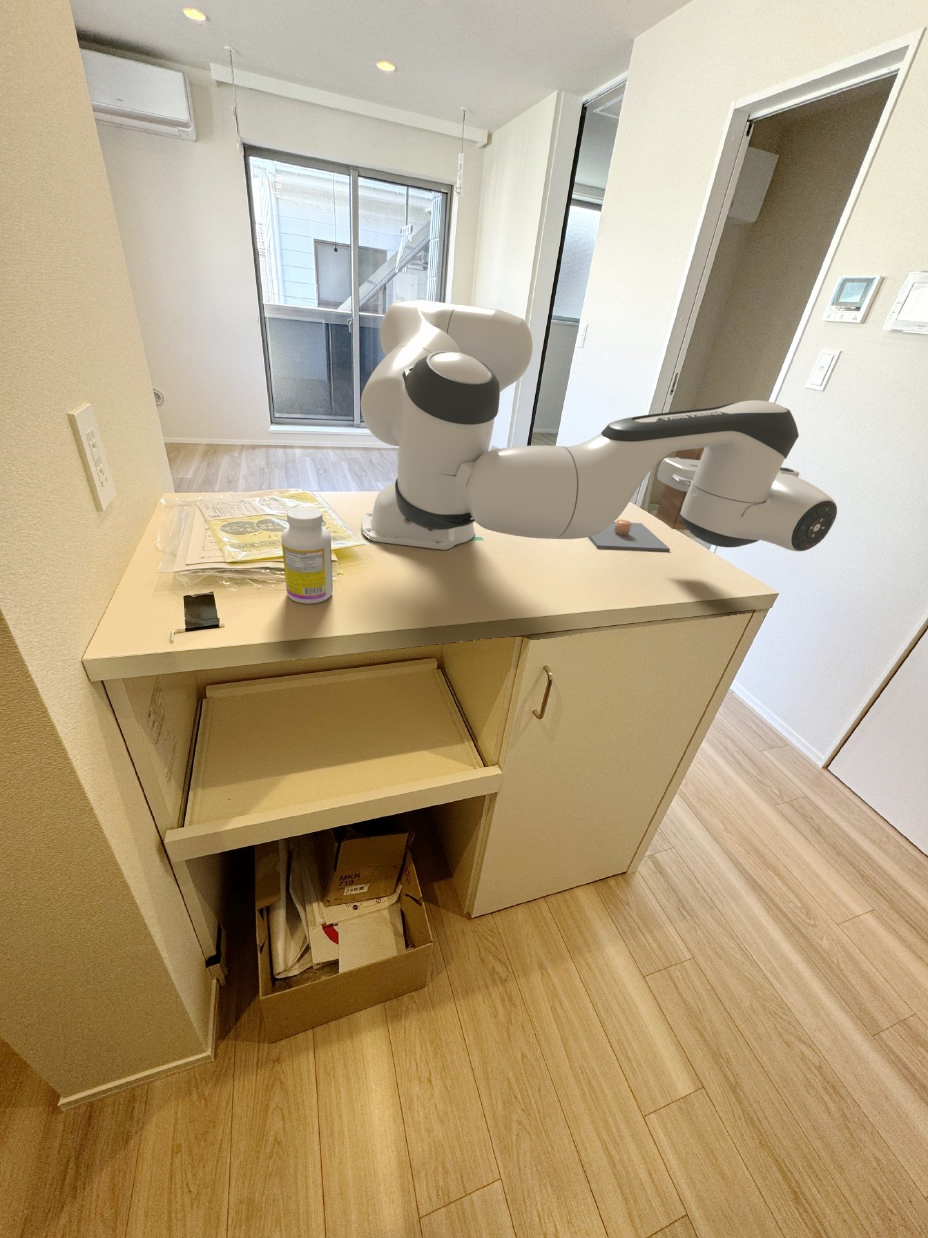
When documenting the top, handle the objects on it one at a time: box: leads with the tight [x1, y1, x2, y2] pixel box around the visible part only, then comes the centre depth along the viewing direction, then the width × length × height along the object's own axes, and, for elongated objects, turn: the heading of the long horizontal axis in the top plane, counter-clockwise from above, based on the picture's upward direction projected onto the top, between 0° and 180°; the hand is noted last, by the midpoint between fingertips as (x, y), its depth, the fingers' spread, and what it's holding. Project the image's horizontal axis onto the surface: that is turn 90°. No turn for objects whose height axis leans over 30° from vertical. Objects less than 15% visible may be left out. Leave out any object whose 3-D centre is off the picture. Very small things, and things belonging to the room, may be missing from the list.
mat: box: [587, 521, 671, 552], centre depth 110 cm, size 16×14×1 cm
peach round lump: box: [614, 518, 633, 536], centre depth 110 cm, size 3×3×3 cm
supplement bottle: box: [281, 506, 334, 605], centre depth 72 cm, size 7×7×13 cm
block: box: [655, 447, 705, 531], centre depth 90 cm, size 6×6×19 cm
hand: (697, 463), depth 90 cm, fingers closed on block, 6 cm apart
